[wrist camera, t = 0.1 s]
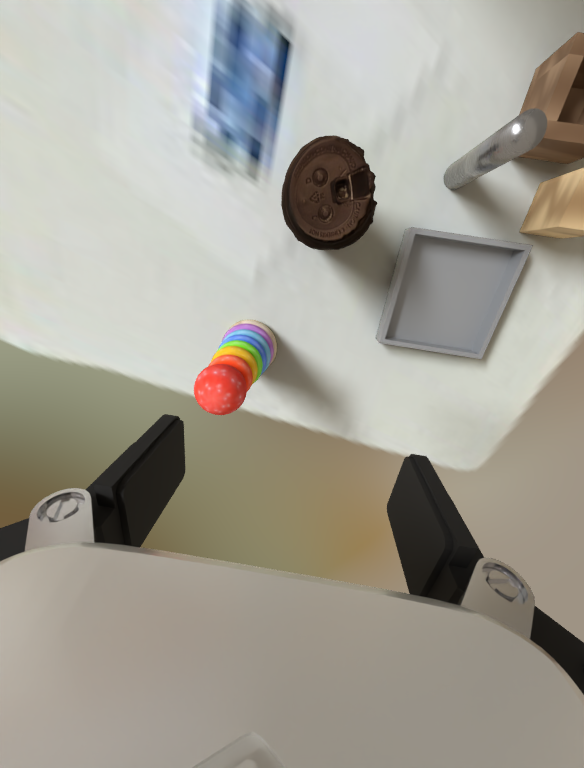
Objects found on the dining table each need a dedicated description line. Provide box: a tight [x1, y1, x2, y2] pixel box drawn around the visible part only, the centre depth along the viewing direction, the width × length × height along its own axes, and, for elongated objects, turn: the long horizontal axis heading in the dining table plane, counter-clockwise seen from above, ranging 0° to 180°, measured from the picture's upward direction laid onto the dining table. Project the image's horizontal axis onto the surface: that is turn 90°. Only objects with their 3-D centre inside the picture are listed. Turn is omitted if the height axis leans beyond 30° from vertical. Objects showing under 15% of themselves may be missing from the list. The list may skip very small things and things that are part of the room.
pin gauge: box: [444, 108, 547, 189], centre depth 26 cm, size 3×3×12 cm
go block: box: [518, 32, 584, 164], centre depth 27 cm, size 7×7×5 cm
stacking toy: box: [194, 320, 277, 415], centre depth 34 cm, size 8×8×19 cm
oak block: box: [520, 168, 584, 238], centre depth 30 cm, size 5×5×6 cm
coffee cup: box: [281, 135, 377, 250], centre depth 29 cm, size 9×8×13 cm
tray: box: [376, 227, 533, 359], centre depth 36 cm, size 14×14×3 cm
